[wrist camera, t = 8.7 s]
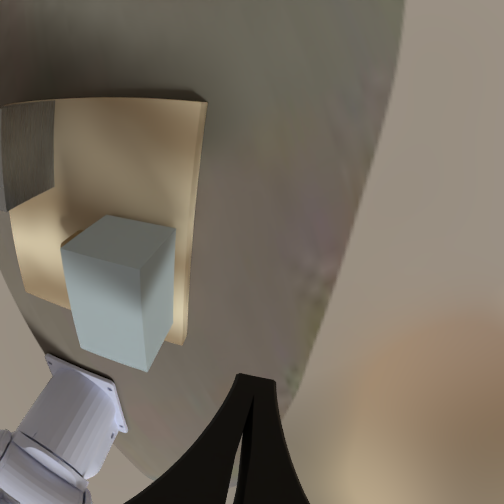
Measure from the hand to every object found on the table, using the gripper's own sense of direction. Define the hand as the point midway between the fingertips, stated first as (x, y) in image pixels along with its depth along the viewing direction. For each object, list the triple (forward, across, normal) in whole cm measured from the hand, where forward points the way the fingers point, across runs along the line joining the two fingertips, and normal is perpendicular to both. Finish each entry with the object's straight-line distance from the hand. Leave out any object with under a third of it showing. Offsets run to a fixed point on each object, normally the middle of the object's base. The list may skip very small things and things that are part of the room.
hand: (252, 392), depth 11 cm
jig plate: (+7, +11, -2) cm, 14 cm away
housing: (+6, +7, 0) cm, 9 cm away
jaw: (+6, +16, -6) cm, 18 cm away
